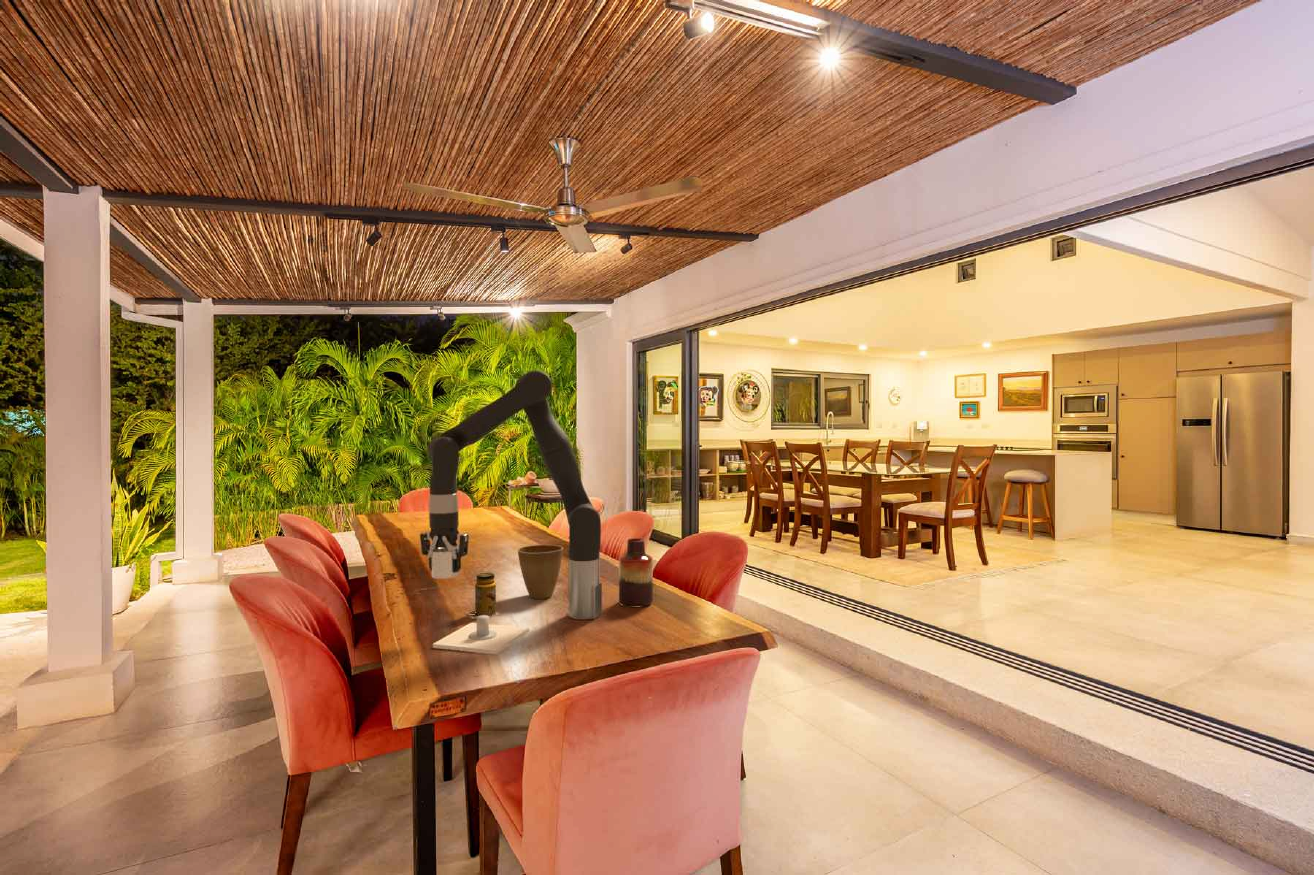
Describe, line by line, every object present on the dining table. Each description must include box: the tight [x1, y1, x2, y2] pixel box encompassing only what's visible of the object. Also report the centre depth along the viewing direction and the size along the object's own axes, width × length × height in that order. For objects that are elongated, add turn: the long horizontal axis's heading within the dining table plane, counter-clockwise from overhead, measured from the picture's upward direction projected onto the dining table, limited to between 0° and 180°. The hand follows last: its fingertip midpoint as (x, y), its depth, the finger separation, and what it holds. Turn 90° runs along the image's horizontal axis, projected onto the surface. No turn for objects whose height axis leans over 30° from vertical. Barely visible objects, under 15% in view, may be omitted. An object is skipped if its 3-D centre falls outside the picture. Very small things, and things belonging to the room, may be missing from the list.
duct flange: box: [432, 615, 530, 655], centre depth 168 cm, size 18×18×6 cm
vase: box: [618, 537, 654, 607], centre depth 202 cm, size 11×11×20 cm
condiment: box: [464, 572, 500, 620], centre depth 190 cm, size 7×8×12 cm
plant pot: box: [517, 544, 564, 600], centre depth 210 cm, size 15×15×16 cm
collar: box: [431, 547, 459, 580], centre depth 172 cm, size 6×6×7 cm
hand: (444, 571), depth 172 cm, fingers closed on collar, 6 cm apart
